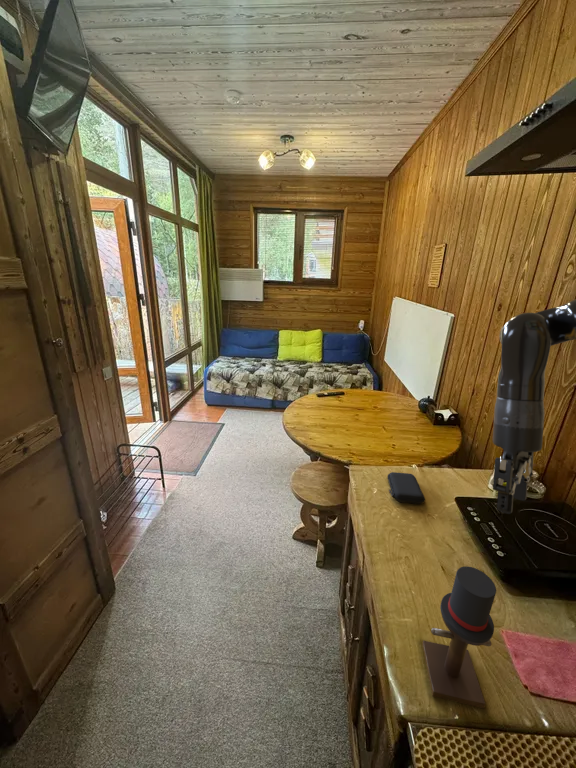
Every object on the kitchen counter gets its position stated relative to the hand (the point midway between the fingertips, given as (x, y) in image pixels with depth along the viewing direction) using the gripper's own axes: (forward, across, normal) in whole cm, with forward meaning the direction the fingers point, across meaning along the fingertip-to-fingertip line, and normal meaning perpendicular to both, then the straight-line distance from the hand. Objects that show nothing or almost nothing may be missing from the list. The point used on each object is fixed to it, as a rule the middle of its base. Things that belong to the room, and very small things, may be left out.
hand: (512, 505), depth 59 cm
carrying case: (+17, +24, +37) cm, 47 cm away
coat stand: (+28, -15, +4) cm, 32 cm away
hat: (+14, -17, +1) cm, 22 cm away
